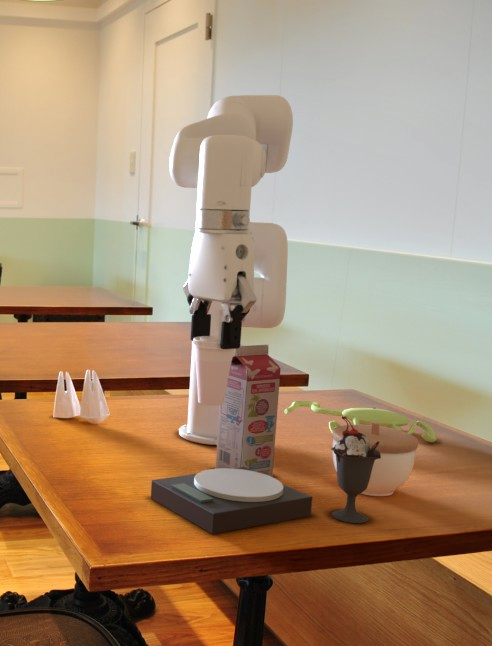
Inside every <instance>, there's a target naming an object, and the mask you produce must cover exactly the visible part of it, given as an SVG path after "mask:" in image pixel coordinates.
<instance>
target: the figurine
mask: <svg viewBox="0 0 492 646" xmlns="http://www.w3.org/2000/svg"><path fill="white" fill-rule="evenodd" d="M298 407H304V408H305V407H307V408H310V410H311V411H313V412H314V413H316V414H321V415H325V416H336V417H342V416H343V417H347V419H348V420H349V421H352V423H353V424H362V425H372V422H378V423H380V426H382V427H388V428H393V429H397V430H401V431H402V428H401V427H403V426H407V425H409V424H410V422H411V420H410V419H409V418H408V417H407V416H405V415H403V414H400V413H398V412H394V411H391V410H386V409H382V408H381V409H380V408H377V407H372V408H371V407H353V408H347V409H344V410H341V409H331V408H322V407H321V405H320V404H319V403H318V402H315V401H309V400H295V401H293V402H292V403H291V405H290V406H288V407H286V408H284V410H283V413H284V415H288V414H290V413H292V412H294V410H296V409H297V408H298ZM338 426H341V424H340V423H339V422H338V421H337V420H332V421H329V422H328V428H329V430H330V433H331V435H332V434H333V430H334V428H336V427H338ZM417 426H419V427H420V428H421V429H423V430H424V431H425V432H422V433H421V438H423V440H424V441H426V442H428V443H435V442H436V441H437V435H436V433H435V431H434V429H432V427H431V426H430V425H429V424H427V423H426V422H424V421H422V420H417V421H415V422H413V423H412V424H411V426H410V428H409V430H408V431H407V432H406V433H409V434H411V435H413V434H414V432H415V430H416V429H417Z"/></svg>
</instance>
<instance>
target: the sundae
mask: <svg viewBox="0 0 492 646" xmlns="http://www.w3.org/2000/svg"><path fill="white" fill-rule="evenodd" d="M341 419H342V420H343V421H345V423H346V425H347V429H346V431H343V432H342V435H343V437H342V438H341V439H339V440H338V442H337V444H336V445H335V447H333V448H330V450H331V451H332V450H333V451H334V454H336V462H337V472H336V477H337V479H336V480H337V484H338V486H339V488H340V489H341V490H342V491H343V492H344V493H345V494H346V503H345V506H344V508H342V509H337V510H334V511H332V512H331V516H332V517H333V518H334V519H335V520H337V521H340V522H344V523H349V524H364V523H367V522H368V521H369V519H368V517H367V516H366V515H365V514H364V513H361V512H359V511H357V509H356V508H357V507H356V500H357V499H356V498H357V497H358V496H359V495H360V493H362V492H363V491H365V490H366V489H367V486H368V483H369V480H370V476H371V472H372V468H373V465H374V461H375V460H376V459H380V458H381V454H380V452H379V451H378V450H376V447H377V446H378V444H379V441H378V442H377V443H375V445H373V446H372V447H370V441H369V438H367V437H366V436H365V435H364V434H362V433H359V432H358V430H356V429H354V428H353V426H352V423H351V422H350V420H349V419H347V417H344V416H341ZM348 425H351V427H352V429H351V430H350V431H348Z"/></svg>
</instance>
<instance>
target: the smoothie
mask: <svg viewBox="0 0 492 646" xmlns="http://www.w3.org/2000/svg"><path fill="white" fill-rule="evenodd" d="M221 323H222V311H221V310H219V311H218V326H217V336H199V337H195V338H193V344H192V343H191V346H192V345H193V346H195V359H196V374H197V390H198V402H199V403H201V404H204V405H212V406H217V405H222V404H223V403H224V398H225V392H226V387H227V382H228V377H229V372H230V367H231V362H232V357H233V351H234V349H221V348H220V340H221Z"/></svg>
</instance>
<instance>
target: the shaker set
mask: <svg viewBox="0 0 492 646" xmlns="http://www.w3.org/2000/svg"><path fill="white" fill-rule="evenodd" d="M69 373H70V372H68V371H65V378H64V372H63V370H61V371H59V373H58V378H57V384H56V390H55V396H54V397H55V398H54V405H53V406H54V407H53V417H52V418H60V419H69V418H75V417H78V416H79V418H80V419H82V420H83V421H85V422H87V423H89V424H91V425H98V424H100V423H102V422H104V421H105V420H106V419H107V418H108V417H110V416H111V412H110V408H109V406H108V402H107V400H106V397H105V396H106V395H105V393H104V389H103V388H102V387H103V386H102V385H101V382H100V379H99V376H98V374H97V372H96V370H95V369H93V370H92V374H91V370H90V369H87V370H86V372H85V376H84V381H83V387H82V394H81V402H80V401H79V398H78V395H77V392H76V389H75V387H74V384H73V380H72V378H71V376H70V374H69ZM91 375H92V376H91ZM91 377H92V378H91ZM64 379H65V380H64ZM65 384H66V385H65ZM65 386H66V390H65Z"/></svg>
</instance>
